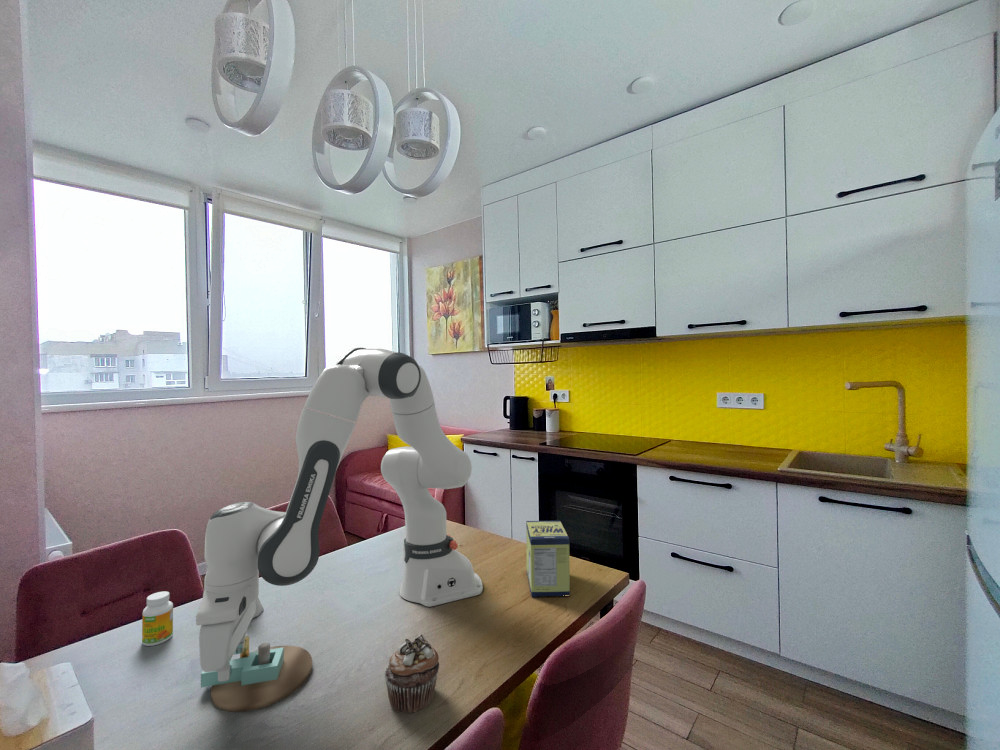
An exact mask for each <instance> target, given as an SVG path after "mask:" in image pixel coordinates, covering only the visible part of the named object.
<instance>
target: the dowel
mask: <svg viewBox="0 0 1000 750" xmlns="http://www.w3.org/2000/svg"><path fill="white" fill-rule="evenodd" d="M249 653H250V636H248V635H246V636H245V647H244V650H243V651H242V653H241V654H239V658H246V657H249Z"/></svg>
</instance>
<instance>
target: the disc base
mask: <svg viewBox="0 0 1000 750" xmlns="http://www.w3.org/2000/svg"><path fill="white" fill-rule="evenodd" d="M282 647H284V660H283V663H282V666H281V669H280V672H279V676H278V679H276V680H270V681H265V682H259V683H253V684H247V685H242V686H241V681H236V682H231V683H225V684H219V685H213V686H210V697H211V703H212V704H213V705H214V706H215V707H216V708H218V709H220V710H223V711H225V712H232V713H234V712H235V713H238V712H239V713H240V712H242V713H244V712H250V711H254V710H255V711H256V710H259V709H263V708H265V707H269V706H272V705H274V704H277V703H278V702H280V701H282V700H284V699H286V698H288V697H289V696H291V695H292V694H294V693H295V692H297V691H298V690H299V689H300V688H301V687H302V686H303V685H304V684H305V683H306V682H307V681H308V679H309V677H310V675H311V673H312V670H313V657H312V655H311V654H310V652H309V651H308V650H306V649H305V648H304V647H303V648H302V647H300V646H295V645H285V644H284V645H275V646H271V644H270V642H264V643H261V644H259V645H258V646H257V648H258V649H257V650H255V651H254V652H257V651H258V665H263V664H269V663H270V649H276V648H282ZM249 654H250V652H249Z"/></svg>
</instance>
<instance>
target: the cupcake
mask: <svg viewBox="0 0 1000 750" xmlns="http://www.w3.org/2000/svg"><path fill="white" fill-rule="evenodd" d="M439 660H440V657H439V654H438V652H437V650H436V649H435V648H434V647H433V646H432V645H431V644H430V643H429V642H428V640H427V639H426V637H425V635H424V634H422V633H421V634H419V635H418V636H417V638H415V639H414V641H411V640H410V639H408V638H405V642H403V643H402V644H400V645H399V646H398V648H397V651H395V652H393V653H392V655H391V657H389V660H388V661H389V662H388V666H387V668H386V669H385V671H384V681H385V684H386V688H387V689H386V690H387V695H388V700H389V705H390V707H391V708H392V709H394V711H396V712H398V713H401V712H402V714H411V713H417V712H418V711H419V710H422V709H425V708H426V707H428V706H429V704H431V702H432V701H433V698H434V695H435V690H436V685H437V679H438V674H439V669H440V663H439Z"/></svg>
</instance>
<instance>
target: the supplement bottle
mask: <svg viewBox="0 0 1000 750" xmlns="http://www.w3.org/2000/svg"><path fill="white" fill-rule="evenodd" d="M141 621H142V622H141V624H142V626H141V628H142V629H141V643H142V645H143V646H145V647H146V646H147V647H154V646H157V645H160V644H163V643H165V642H167V641H168V640H170V639H171V638H172V637H173V634H174V603H173V602H172V601H170V592H169V591H166V590H165V591H157V592H154V593H152V594H150V595H148V596H147V597H146V606H145V608H143V610H142V620H141Z"/></svg>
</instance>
